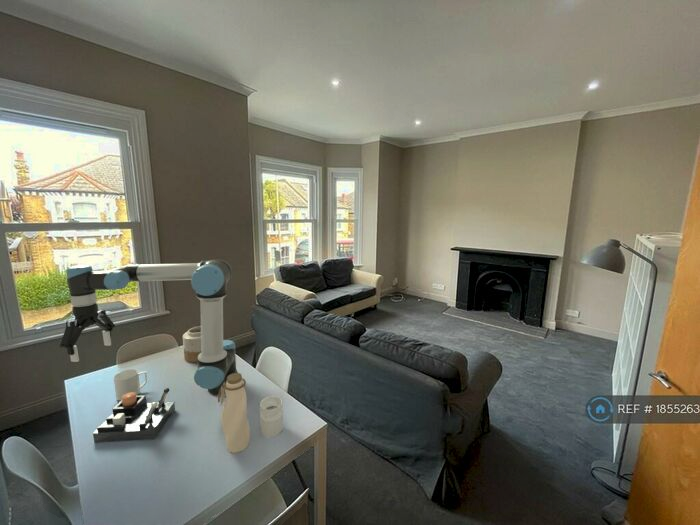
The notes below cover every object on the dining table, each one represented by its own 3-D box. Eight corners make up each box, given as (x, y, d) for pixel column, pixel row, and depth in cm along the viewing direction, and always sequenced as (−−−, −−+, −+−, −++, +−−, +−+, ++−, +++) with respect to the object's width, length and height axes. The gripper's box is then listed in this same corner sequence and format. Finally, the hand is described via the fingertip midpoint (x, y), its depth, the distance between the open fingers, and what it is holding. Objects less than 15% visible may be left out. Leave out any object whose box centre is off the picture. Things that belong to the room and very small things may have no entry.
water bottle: (222, 459, 100) (217, 388, 95) (220, 441, 108) (216, 374, 103) (252, 449, 105) (249, 380, 100) (248, 432, 113) (245, 367, 108)
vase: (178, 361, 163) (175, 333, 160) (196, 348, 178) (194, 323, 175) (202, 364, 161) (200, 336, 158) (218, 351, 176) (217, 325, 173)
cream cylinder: (259, 424, 117) (258, 398, 115) (280, 419, 120) (280, 393, 118) (261, 440, 109) (260, 412, 107) (284, 434, 113) (284, 407, 110)
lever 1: (152, 418, 112) (159, 401, 111) (148, 424, 109) (155, 406, 108) (147, 417, 112) (154, 399, 111) (142, 422, 109) (150, 404, 108)
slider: (125, 422, 111) (124, 413, 110) (120, 427, 108) (119, 418, 108) (118, 422, 111) (117, 413, 110) (113, 428, 108) (112, 418, 107)
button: (139, 400, 120) (138, 391, 120) (132, 408, 116) (131, 399, 115) (127, 400, 120) (126, 392, 119) (119, 408, 115) (118, 399, 114)
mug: (117, 405, 126) (114, 382, 124) (115, 395, 133) (112, 373, 131) (150, 393, 134) (147, 372, 132) (146, 385, 141) (144, 364, 139)
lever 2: (164, 403, 121) (171, 387, 120) (160, 408, 118) (168, 391, 117) (159, 402, 120) (166, 385, 119) (155, 406, 118) (163, 389, 117)
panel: (175, 409, 125) (174, 393, 123) (154, 439, 108) (152, 421, 107) (123, 411, 122) (121, 396, 121) (94, 442, 106) (91, 425, 105)
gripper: (105, 294, 127) (112, 338, 131) (40, 314, 102) (50, 368, 106) (121, 295, 126) (127, 340, 130) (58, 315, 102) (68, 369, 105)
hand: (92, 352), depth 118 cm, fingers open, 13 cm apart
